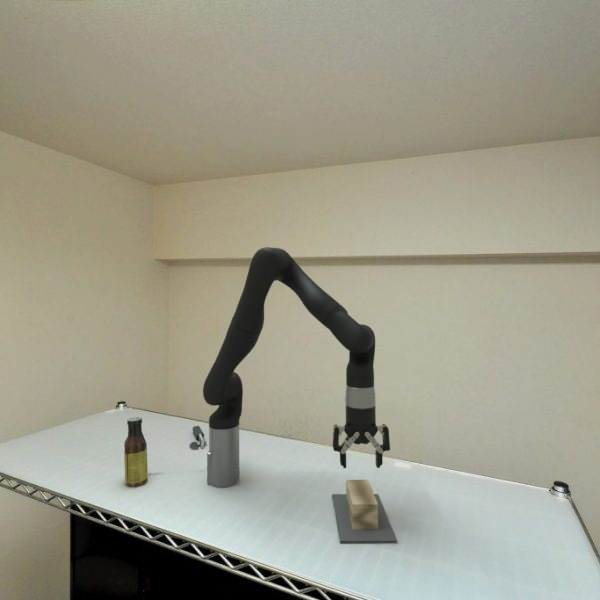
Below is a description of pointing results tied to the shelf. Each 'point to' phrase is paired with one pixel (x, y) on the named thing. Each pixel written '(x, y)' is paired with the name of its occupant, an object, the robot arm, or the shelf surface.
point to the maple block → (361, 505)
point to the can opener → (198, 438)
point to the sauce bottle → (135, 454)
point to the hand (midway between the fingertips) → (361, 466)
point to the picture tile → (361, 536)
